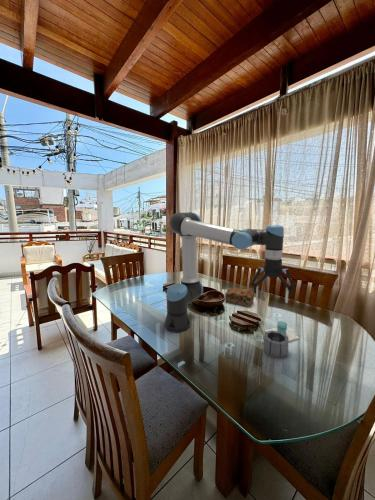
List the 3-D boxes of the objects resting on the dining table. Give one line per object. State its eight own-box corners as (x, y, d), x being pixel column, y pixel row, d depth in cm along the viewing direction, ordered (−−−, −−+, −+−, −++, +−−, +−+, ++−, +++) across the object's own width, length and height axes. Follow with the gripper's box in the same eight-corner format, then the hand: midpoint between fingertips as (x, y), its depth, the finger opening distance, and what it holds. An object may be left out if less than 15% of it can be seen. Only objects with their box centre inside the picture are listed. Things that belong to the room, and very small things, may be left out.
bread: (254, 302, 156) (254, 289, 154) (250, 308, 147) (250, 294, 145) (229, 297, 165) (229, 285, 163) (224, 302, 156) (224, 289, 154)
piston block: (281, 344, 107) (282, 331, 106) (264, 332, 118) (265, 320, 117) (299, 339, 111) (300, 326, 110) (281, 327, 122) (282, 316, 121)
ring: (274, 360, 96) (275, 345, 95) (258, 346, 106) (259, 333, 104) (292, 354, 100) (293, 340, 98) (275, 341, 109) (276, 329, 108)
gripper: (245, 258, 102) (244, 300, 106) (304, 261, 95) (301, 306, 98) (246, 255, 109) (245, 295, 113) (301, 257, 102) (297, 300, 105)
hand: (271, 300), depth 106 cm, fingers open, 13 cm apart
